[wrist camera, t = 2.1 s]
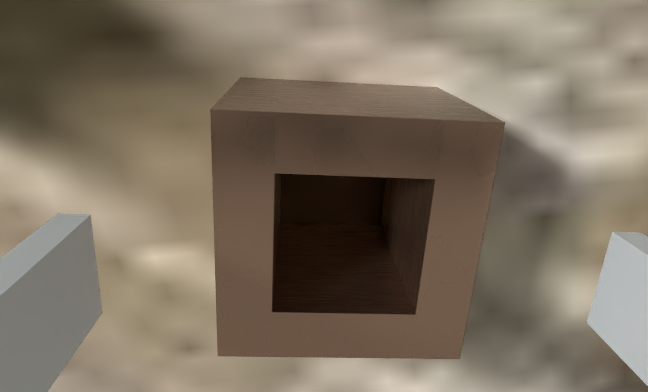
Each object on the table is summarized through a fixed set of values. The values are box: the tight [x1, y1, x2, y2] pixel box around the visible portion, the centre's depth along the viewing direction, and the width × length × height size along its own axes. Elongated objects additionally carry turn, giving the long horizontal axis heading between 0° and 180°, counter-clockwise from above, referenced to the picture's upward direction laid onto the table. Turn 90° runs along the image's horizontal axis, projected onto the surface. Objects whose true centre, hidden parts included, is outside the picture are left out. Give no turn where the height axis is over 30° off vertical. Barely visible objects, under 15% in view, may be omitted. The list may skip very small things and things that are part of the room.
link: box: [210, 78, 505, 359], centre depth 15 cm, size 7×7×6 cm
